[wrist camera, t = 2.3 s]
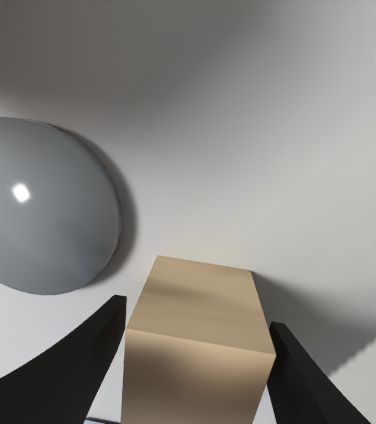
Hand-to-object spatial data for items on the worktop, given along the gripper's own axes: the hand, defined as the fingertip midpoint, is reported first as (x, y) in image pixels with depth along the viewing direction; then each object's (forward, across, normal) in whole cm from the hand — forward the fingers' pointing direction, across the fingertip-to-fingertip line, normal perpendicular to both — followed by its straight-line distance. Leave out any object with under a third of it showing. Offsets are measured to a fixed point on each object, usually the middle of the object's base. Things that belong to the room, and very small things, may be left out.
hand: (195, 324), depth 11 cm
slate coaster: (+2, +9, -4) cm, 10 cm away
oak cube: (+2, 0, 0) cm, 2 cm away
